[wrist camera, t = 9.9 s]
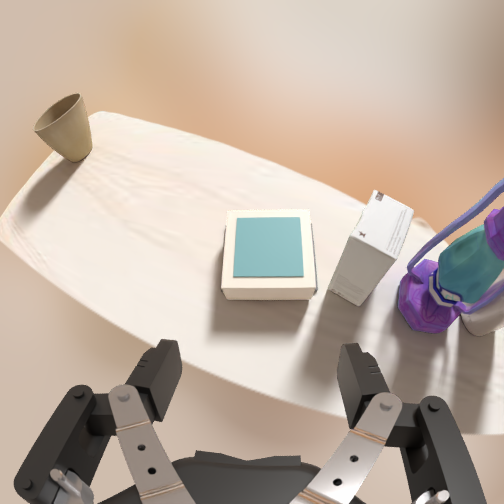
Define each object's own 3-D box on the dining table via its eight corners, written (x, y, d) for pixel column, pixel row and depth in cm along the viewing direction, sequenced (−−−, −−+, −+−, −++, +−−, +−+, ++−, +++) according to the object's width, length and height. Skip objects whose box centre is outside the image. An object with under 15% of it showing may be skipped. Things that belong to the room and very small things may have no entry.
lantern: (461, 294, 37) (580, 188, 10) (439, 352, 33) (595, 273, 7) (406, 253, 41) (500, 110, 15) (377, 309, 38) (507, 169, 11)
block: (310, 299, 39) (306, 227, 44) (316, 286, 34) (309, 208, 40) (227, 299, 40) (232, 228, 45) (220, 287, 35) (227, 209, 41)
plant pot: (114, 137, 62) (91, 91, 48) (76, 177, 57) (45, 132, 43) (86, 132, 66) (65, 92, 52) (53, 167, 61) (26, 129, 47)
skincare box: (358, 308, 38) (398, 265, 25) (324, 288, 40) (348, 237, 27) (380, 264, 41) (418, 210, 28) (348, 246, 43) (374, 185, 30)
